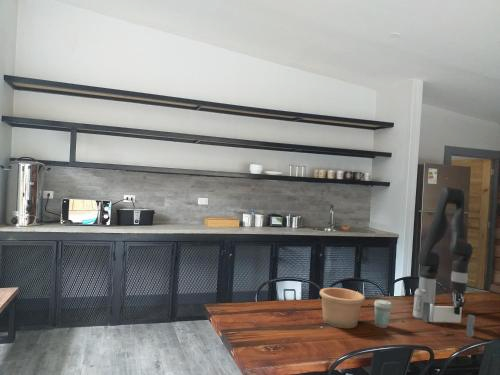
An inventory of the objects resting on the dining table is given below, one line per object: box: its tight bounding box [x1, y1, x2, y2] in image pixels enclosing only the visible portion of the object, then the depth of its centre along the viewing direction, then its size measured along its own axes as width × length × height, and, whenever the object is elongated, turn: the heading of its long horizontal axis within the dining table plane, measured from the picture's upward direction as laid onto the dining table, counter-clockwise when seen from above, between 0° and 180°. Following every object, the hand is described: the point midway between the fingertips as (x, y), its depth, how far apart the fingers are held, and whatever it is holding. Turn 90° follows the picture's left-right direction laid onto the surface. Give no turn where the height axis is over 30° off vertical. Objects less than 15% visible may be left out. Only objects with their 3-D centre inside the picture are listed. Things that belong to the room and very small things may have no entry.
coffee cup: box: [373, 299, 393, 329], centre depth 189 cm, size 8×9×12 cm
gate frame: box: [421, 302, 476, 338], centre depth 192 cm, size 24×2×10 cm, turn 41°
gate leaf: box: [428, 303, 463, 324], centre depth 199 cm, size 18×2×9 cm, turn 99°
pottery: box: [319, 287, 366, 329], centre depth 189 cm, size 22×22×14 cm
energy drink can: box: [412, 288, 427, 320], centre depth 207 cm, size 6×6×15 cm
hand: (456, 314), depth 197 cm, fingers closed
